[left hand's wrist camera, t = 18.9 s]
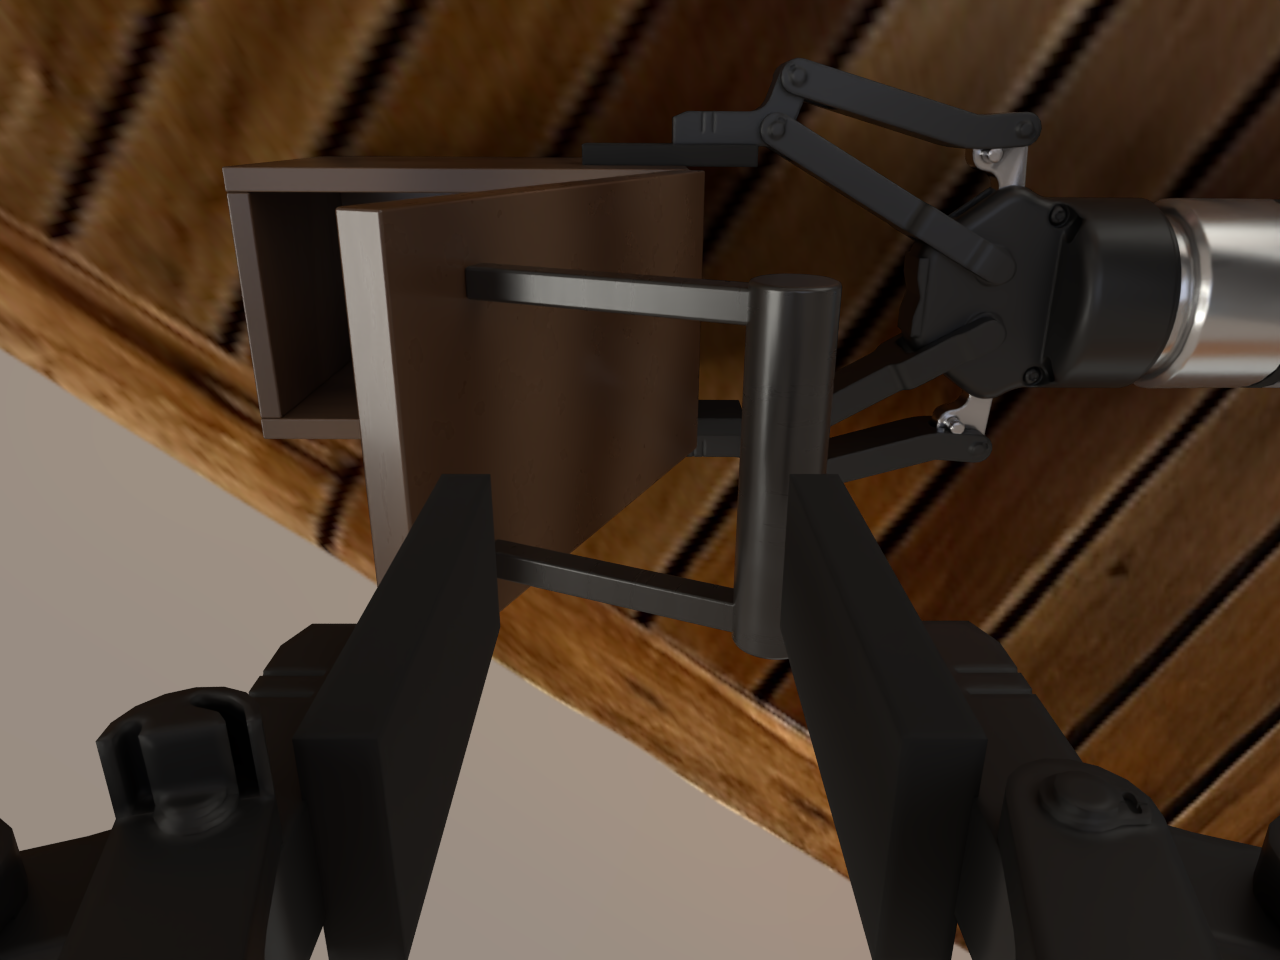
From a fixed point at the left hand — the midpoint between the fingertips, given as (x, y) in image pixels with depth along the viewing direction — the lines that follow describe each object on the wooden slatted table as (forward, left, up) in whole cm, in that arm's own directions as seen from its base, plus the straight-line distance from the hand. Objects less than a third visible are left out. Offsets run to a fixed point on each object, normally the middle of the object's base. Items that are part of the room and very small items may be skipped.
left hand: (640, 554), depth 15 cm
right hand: (+1, -2, -24) cm, 24 cm away
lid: (+1, -2, -12) cm, 12 cm away
